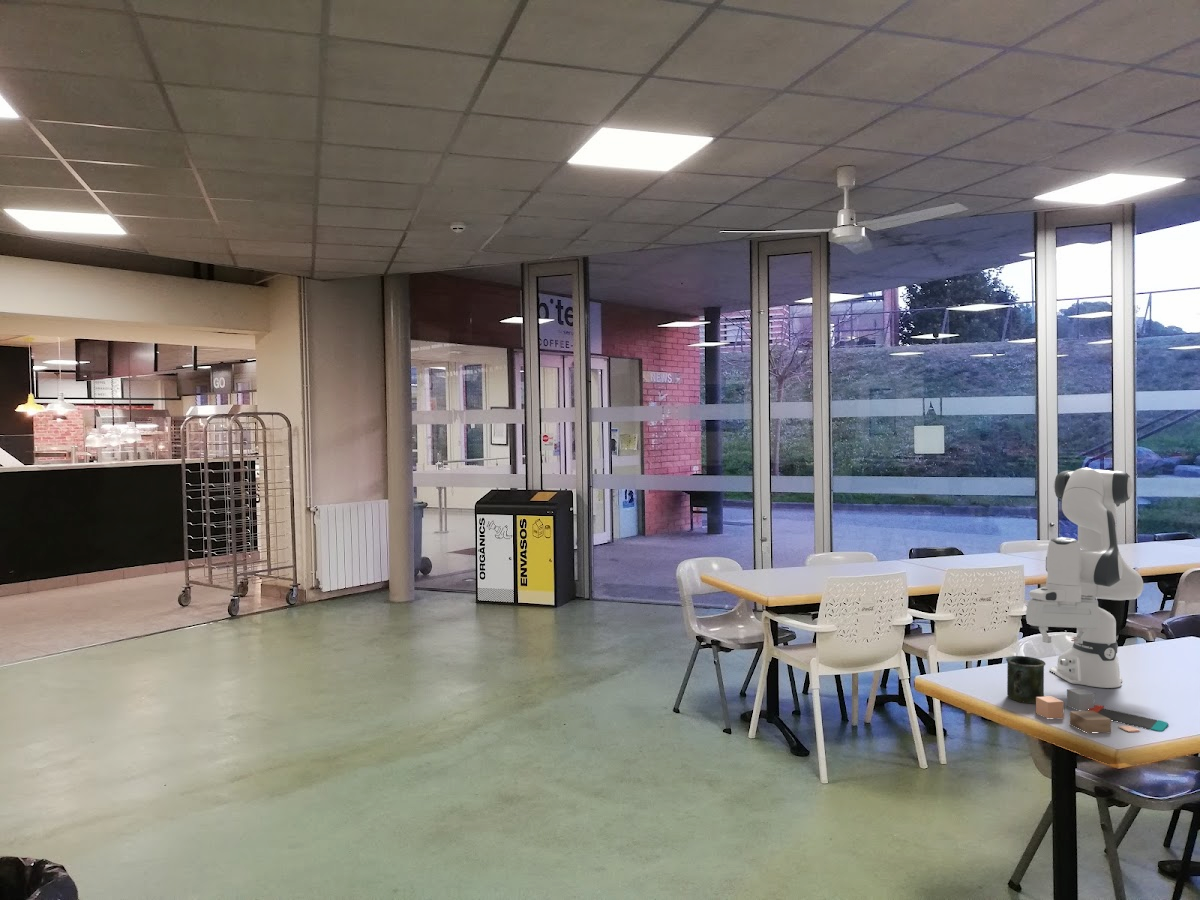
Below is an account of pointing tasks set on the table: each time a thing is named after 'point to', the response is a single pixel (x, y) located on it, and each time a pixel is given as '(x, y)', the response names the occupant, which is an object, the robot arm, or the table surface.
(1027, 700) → the mug
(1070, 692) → the grey cube
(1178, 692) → the table surface
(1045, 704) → the terracotta cube
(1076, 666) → the robot arm
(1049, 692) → the table surface
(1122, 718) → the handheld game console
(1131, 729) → the tile
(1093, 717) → the walnut block
